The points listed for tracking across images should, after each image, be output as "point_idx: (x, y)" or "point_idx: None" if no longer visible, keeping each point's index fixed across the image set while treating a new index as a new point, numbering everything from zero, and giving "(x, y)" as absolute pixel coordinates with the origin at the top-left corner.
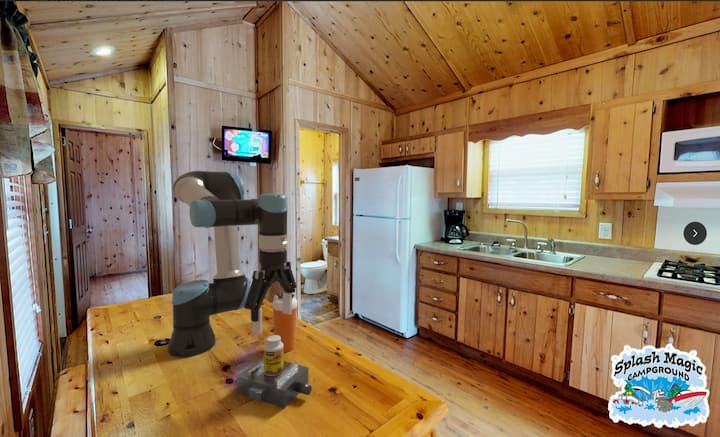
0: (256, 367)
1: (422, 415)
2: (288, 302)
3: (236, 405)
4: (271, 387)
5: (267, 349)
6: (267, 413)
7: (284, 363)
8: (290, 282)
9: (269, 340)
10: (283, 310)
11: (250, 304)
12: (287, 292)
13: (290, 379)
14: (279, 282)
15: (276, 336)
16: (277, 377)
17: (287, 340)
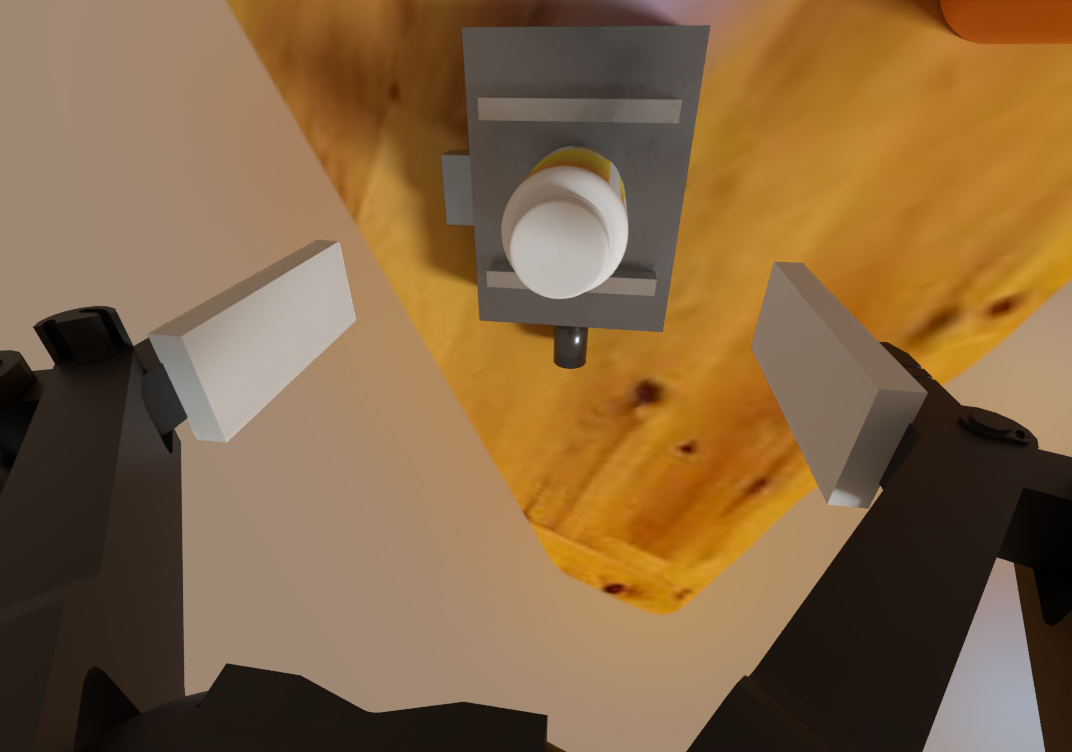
0: (530, 115)
1: (616, 593)
2: (793, 398)
3: (425, 103)
4: (476, 259)
5: (502, 233)
6: (451, 251)
7: (661, 207)
8: (1070, 631)
9: (513, 249)
10: (779, 284)
11: (5, 425)
12: (896, 449)
13: (552, 304)
14: (813, 591)
15: (584, 259)
16: (506, 274)
17: (998, 19)
